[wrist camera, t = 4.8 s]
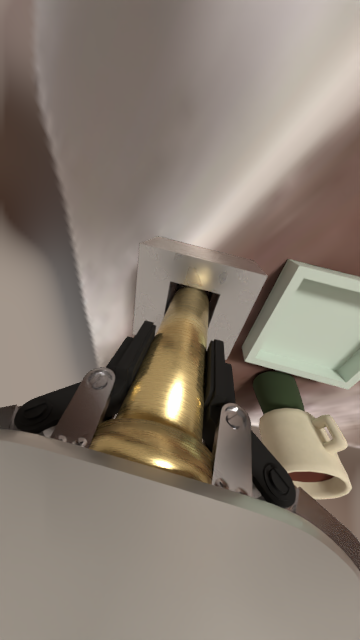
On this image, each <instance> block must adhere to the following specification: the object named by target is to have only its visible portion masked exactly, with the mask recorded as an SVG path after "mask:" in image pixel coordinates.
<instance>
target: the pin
mask: <svg viewBox="0 0 360 640" xmlns="http://www.w3.org/2000/svg"><path fill="white" fill-rule="evenodd" d="M208 314H209V299H208V296H207V295H206V293H205V292H204V291H203V290H202V289H198V288H194V287H190V286H186V287H183V288H181V289H179V290H178V291H177V292H176V294H175V295H174V297H173V299H172V302H171V304H170V306H169V308H168V310H167V312H166V314H165V316H164V318H163V320H162V322H161V324H160V327H159V329H158V331H157V333H156V335H155V337H154V339H153V341H152V343H151V345H150V347H149V349H148V352H147V354H146V356H145V358H144V360H143V362H142V364H141V366H140V368H139V370H138V372H137V374H136V377H135V379H134V381H133V383H132V385H131V387H130V389H129V391H128V393H127V395H126V397H125V399H124V401H123V404H122V406H121V408H120V410H119V412H118V414H117V416H116V418H115V419H112V420H108V421H105V422H103V423H101V424H99V426H98V428H97V431H96V433H95V435H94V437H93V440H92V442H91V444H90V446H89V449H92V450H95V451H99V452H102V453H106V454H109V455H113V456H116V457H120V458H123V459H126V460H130V461H133V462H137V463H140V464H143V465H147V466H150V467H154V468H157V469H160V470H164V471H167V472H171V473H174V474H177V475H181V476H184V477H187V478H191V479H194V480H197V481H201V482H204V483H208V484H211V485H212V474H213V461H214V457H213V455H212V453H211V452H210V451H209V450H208V448H207V447H206V446H204V445H203V444H202V430H203V411H204V391H205V372H206V353H207V333H208Z"/></svg>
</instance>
